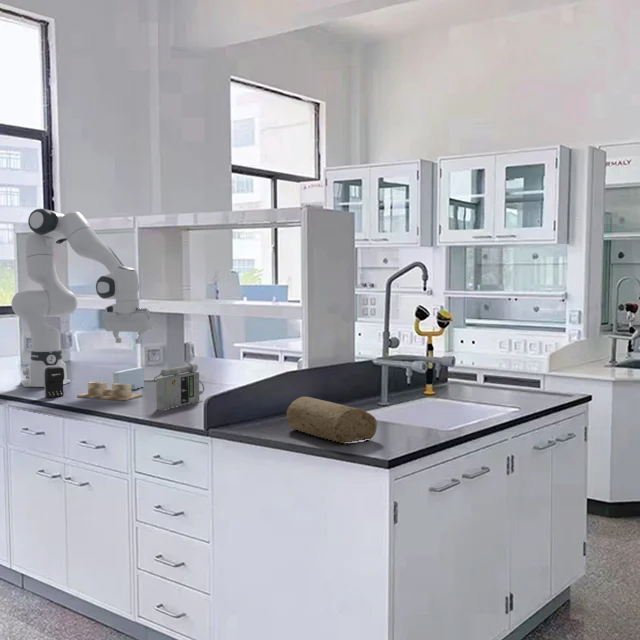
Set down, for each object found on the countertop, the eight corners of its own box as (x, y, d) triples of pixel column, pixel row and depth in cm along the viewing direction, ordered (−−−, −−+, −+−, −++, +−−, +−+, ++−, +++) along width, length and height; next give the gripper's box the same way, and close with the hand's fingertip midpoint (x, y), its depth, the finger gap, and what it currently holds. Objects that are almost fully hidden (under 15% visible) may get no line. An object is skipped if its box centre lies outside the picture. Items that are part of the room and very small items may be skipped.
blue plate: (118, 393, 286) (118, 372, 286) (113, 393, 287) (113, 372, 286) (143, 387, 301) (143, 367, 300) (139, 386, 302) (138, 367, 301)
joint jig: (77, 397, 278) (76, 383, 278) (94, 392, 288) (94, 380, 287) (125, 400, 270) (125, 387, 270) (142, 396, 279) (142, 383, 279)
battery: (47, 398, 276) (47, 367, 275) (43, 397, 278) (42, 366, 278) (66, 396, 280) (65, 366, 279) (62, 395, 283) (61, 365, 282)
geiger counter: (164, 370, 249) (210, 361, 271) (150, 368, 252) (196, 360, 274) (165, 411, 250) (211, 399, 272) (150, 409, 253) (197, 398, 275)
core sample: (320, 425, 228) (320, 393, 227) (378, 441, 206) (378, 405, 206) (282, 431, 219) (282, 398, 218) (338, 449, 198) (338, 411, 197)
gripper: (154, 307, 291) (155, 343, 292) (111, 307, 298) (112, 341, 299) (144, 308, 285) (145, 344, 286) (101, 308, 293) (102, 343, 294)
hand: (128, 343), depth 293 cm, fingers open, 8 cm apart
